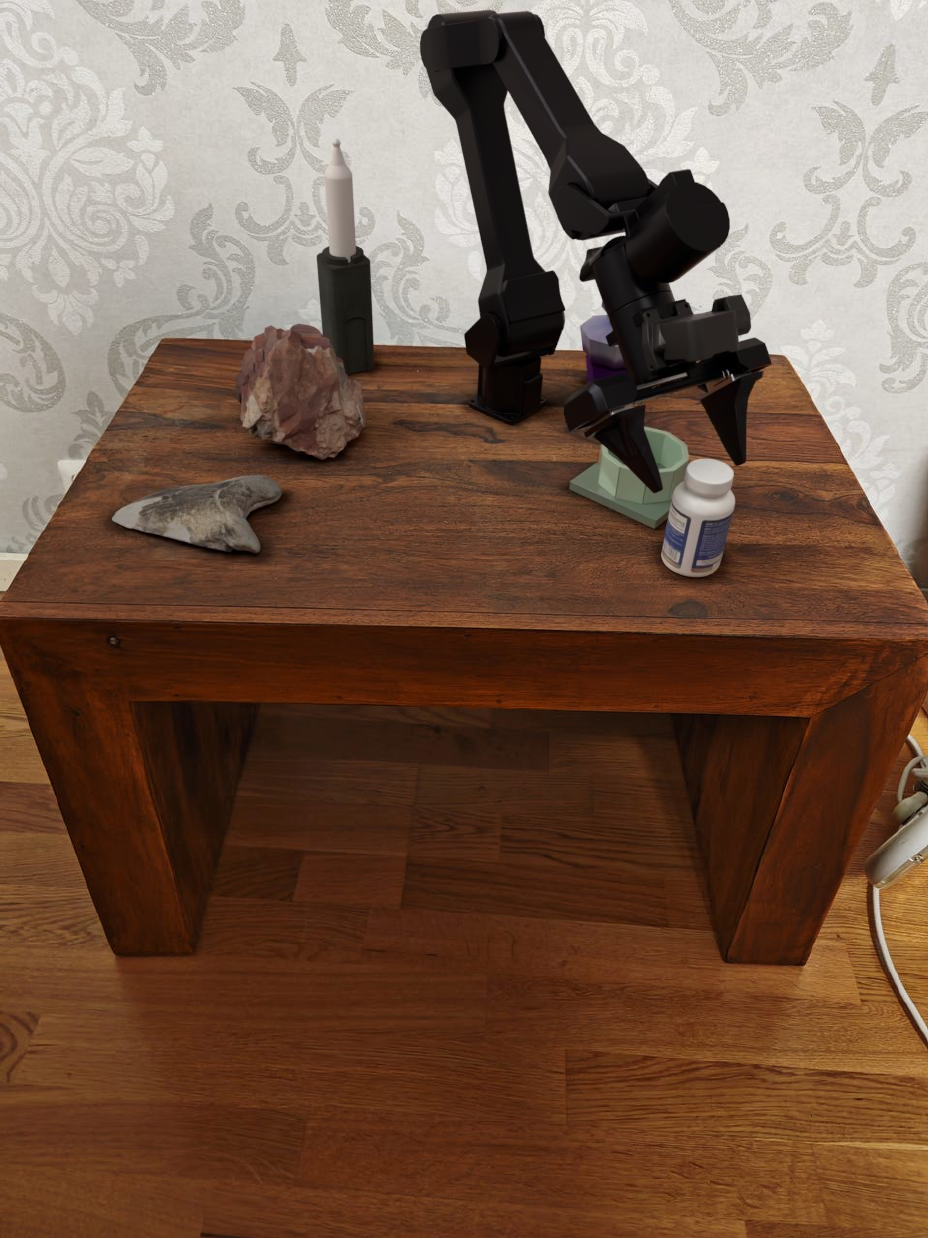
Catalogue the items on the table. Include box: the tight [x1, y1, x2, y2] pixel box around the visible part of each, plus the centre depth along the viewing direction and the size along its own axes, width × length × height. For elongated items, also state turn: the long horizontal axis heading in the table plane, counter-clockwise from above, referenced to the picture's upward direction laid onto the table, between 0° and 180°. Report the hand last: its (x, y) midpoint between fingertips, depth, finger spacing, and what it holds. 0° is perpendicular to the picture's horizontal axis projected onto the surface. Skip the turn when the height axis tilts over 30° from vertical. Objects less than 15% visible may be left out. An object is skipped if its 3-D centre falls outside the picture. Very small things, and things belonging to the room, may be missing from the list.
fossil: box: [111, 474, 283, 554], centre depth 90 cm, size 11×5×15 cm
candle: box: [316, 137, 376, 376], centre depth 107 cm, size 5×5×25 cm
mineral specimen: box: [235, 323, 367, 461], centre depth 100 cm, size 12×13×15 cm
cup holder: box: [568, 426, 690, 530], centre depth 96 cm, size 10×10×4 cm
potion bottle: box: [579, 300, 628, 384], centre depth 109 cm, size 9×9×12 cm
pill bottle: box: [660, 458, 736, 578], centre depth 85 cm, size 5×5×10 cm
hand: (700, 477), depth 83 cm, fingers open, 9 cm apart
